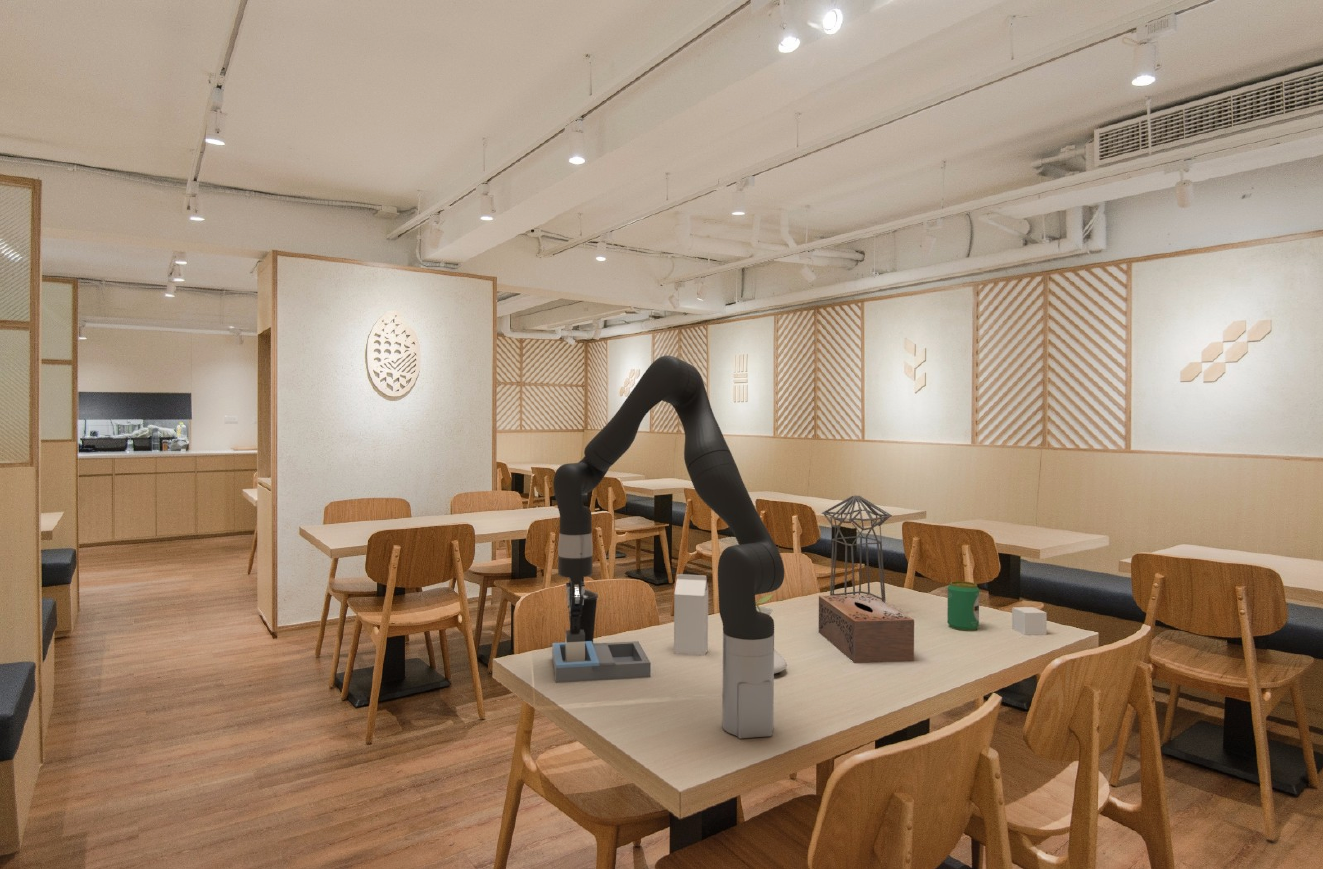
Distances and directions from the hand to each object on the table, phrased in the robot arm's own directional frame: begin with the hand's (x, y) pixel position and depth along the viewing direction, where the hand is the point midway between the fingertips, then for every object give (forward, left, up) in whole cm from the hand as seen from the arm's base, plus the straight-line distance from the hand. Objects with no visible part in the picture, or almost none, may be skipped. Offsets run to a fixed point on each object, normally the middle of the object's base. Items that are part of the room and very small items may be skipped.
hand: (574, 631), depth 161 cm
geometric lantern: (+37, -85, -9) cm, 93 cm away
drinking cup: (+16, -3, -9) cm, 18 cm away
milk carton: (+9, -29, -9) cm, 31 cm away
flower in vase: (-5, -41, -9) cm, 42 cm away
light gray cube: (+12, -123, -9) cm, 123 cm away
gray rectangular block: (0, 0, -8) cm, 8 cm away
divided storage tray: (0, -6, -9) cm, 11 cm away
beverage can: (+19, -108, -9) cm, 110 cm away
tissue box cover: (+8, -72, -10) cm, 73 cm away
